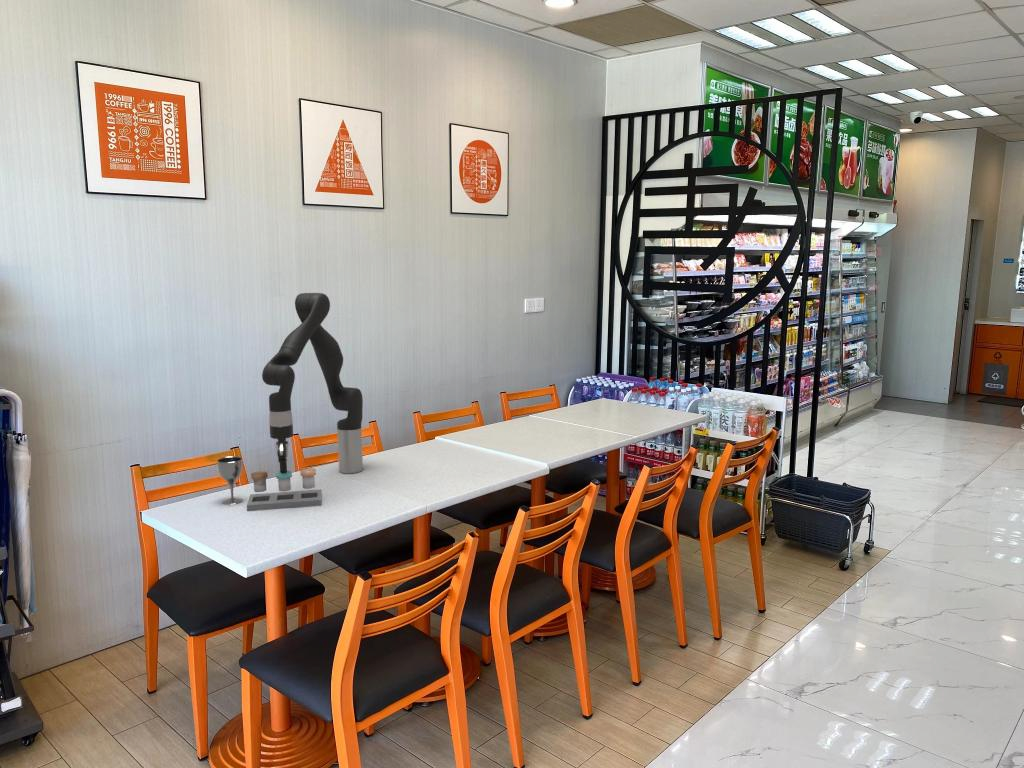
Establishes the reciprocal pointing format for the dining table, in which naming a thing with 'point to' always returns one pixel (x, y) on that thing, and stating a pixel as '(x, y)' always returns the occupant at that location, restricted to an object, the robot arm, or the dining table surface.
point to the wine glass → (230, 475)
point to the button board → (284, 500)
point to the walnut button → (259, 481)
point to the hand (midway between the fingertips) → (283, 472)
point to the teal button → (284, 480)
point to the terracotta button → (308, 477)
